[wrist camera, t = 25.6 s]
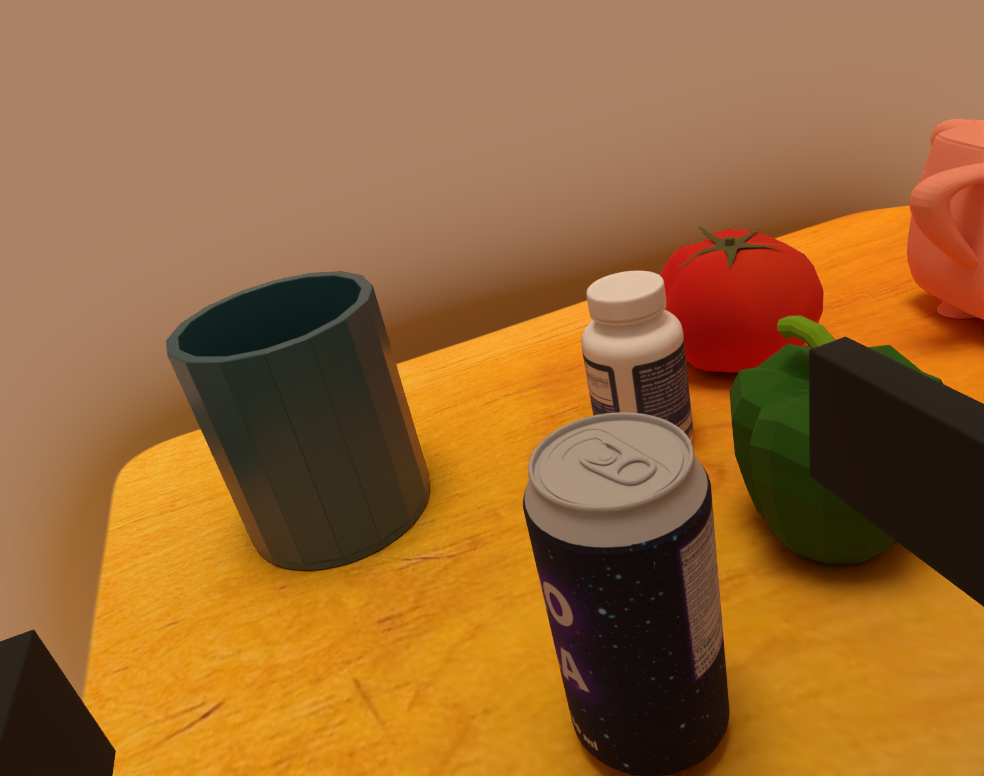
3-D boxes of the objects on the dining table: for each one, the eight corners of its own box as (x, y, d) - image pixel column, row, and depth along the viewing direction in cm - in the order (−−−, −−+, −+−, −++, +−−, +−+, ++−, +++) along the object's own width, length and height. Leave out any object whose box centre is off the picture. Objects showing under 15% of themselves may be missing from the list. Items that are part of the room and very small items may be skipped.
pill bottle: (698, 416, 45) (684, 261, 41) (688, 470, 41) (671, 303, 36) (608, 416, 47) (585, 268, 43) (589, 468, 43) (562, 309, 38)
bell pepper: (982, 566, 32) (1010, 351, 27) (785, 610, 32) (779, 403, 27) (873, 456, 39) (880, 272, 34) (714, 492, 39) (700, 313, 34)
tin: (216, 559, 43) (120, 362, 37) (318, 451, 51) (252, 275, 45) (375, 581, 38) (294, 362, 33) (458, 460, 47) (406, 266, 41)
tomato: (685, 322, 56) (675, 211, 52) (837, 330, 51) (838, 206, 47) (638, 386, 50) (622, 264, 46) (805, 403, 44) (804, 266, 40)
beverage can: (641, 637, 32) (603, 388, 26) (762, 714, 28) (748, 438, 22) (543, 727, 29) (477, 471, 24) (662, 827, 25) (617, 545, 19)
